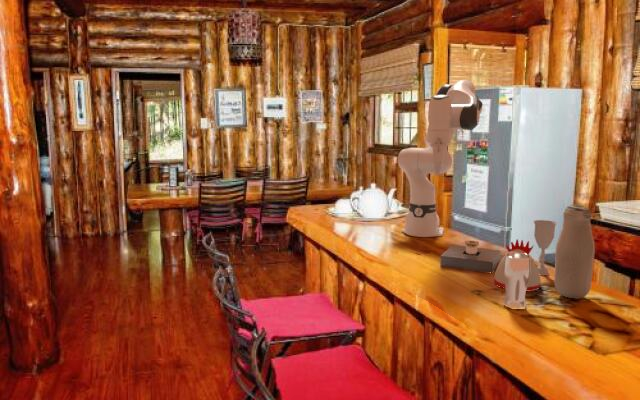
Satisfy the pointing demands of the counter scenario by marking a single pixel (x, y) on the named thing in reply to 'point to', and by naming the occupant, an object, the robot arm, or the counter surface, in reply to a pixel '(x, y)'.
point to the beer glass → (516, 278)
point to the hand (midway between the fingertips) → (437, 174)
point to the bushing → (471, 247)
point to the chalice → (544, 240)
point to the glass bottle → (574, 253)
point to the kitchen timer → (534, 274)
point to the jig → (471, 259)
